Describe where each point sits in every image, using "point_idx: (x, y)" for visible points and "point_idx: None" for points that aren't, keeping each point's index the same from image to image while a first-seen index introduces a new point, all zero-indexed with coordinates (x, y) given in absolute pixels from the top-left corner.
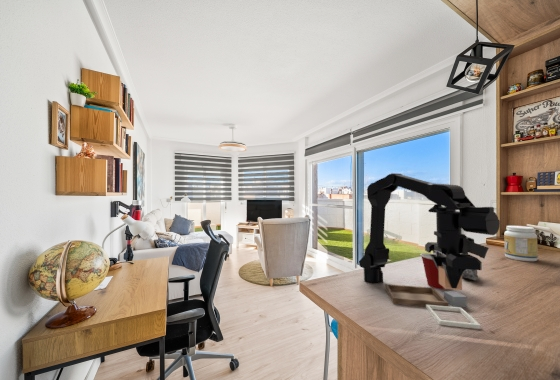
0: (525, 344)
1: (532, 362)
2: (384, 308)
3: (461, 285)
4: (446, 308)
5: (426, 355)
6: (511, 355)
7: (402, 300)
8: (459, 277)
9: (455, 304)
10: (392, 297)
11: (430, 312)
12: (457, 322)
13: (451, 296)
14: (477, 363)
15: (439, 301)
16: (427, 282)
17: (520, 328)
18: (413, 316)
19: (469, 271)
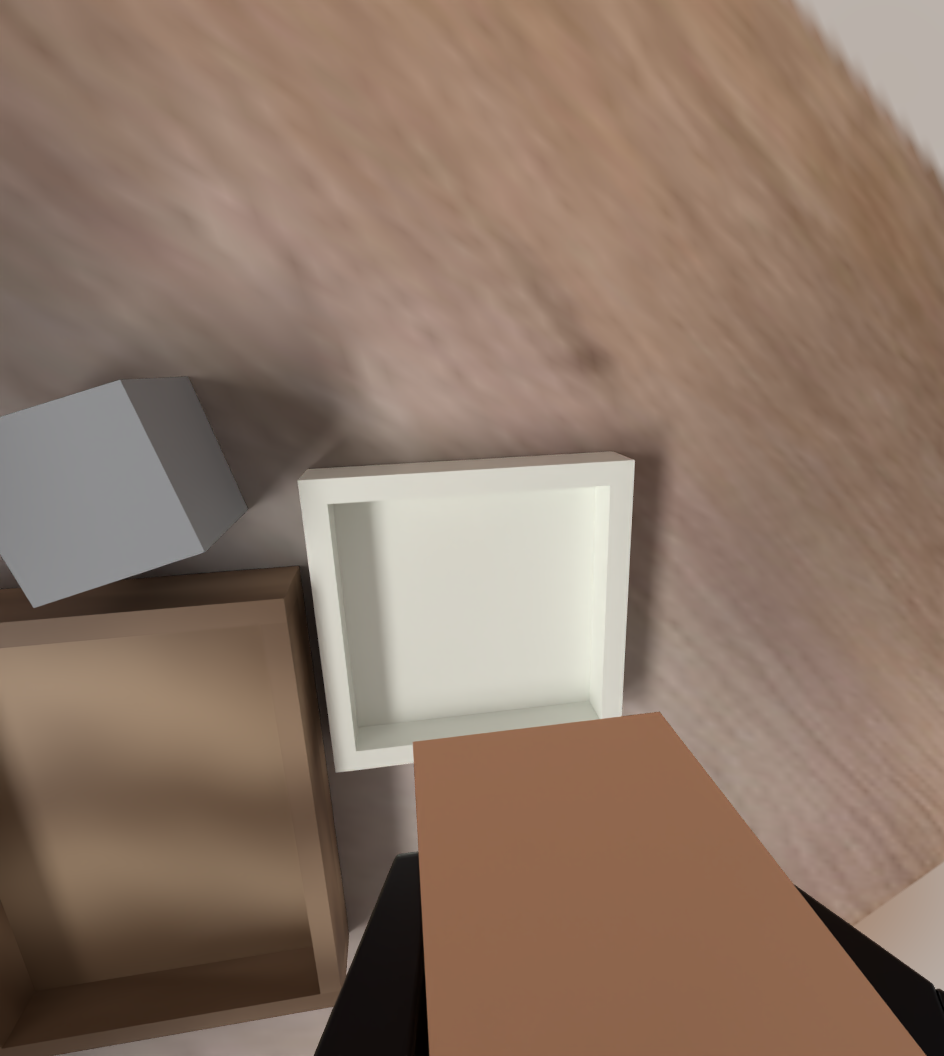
0: (731, 197)
1: (914, 310)
2: None
3: (698, 771)
4: (341, 612)
5: (869, 821)
6: (856, 399)
7: (337, 932)
8: (935, 1007)
9: (223, 505)
10: (325, 1004)
11: None
12: (618, 622)
13: (175, 560)
14: (920, 624)
15: (280, 674)
16: None
17: (472, 24)
18: None
19: None
